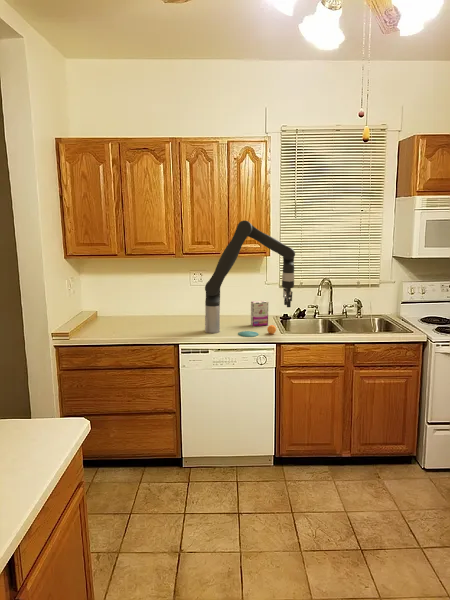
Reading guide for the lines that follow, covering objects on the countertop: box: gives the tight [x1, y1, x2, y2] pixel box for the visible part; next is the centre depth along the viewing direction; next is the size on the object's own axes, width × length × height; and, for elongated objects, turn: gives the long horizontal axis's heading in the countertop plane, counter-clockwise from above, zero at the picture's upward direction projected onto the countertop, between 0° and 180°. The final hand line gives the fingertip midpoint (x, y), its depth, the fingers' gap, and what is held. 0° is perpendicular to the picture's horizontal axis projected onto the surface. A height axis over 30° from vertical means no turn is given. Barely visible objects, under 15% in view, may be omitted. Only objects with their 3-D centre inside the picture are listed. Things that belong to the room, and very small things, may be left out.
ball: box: [266, 324, 277, 335], centre depth 284 cm, size 6×6×6 cm
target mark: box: [237, 330, 260, 338], centre depth 283 cm, size 13×13×1 cm
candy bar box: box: [250, 300, 269, 327], centre depth 304 cm, size 11×5×16 cm, turn 105°
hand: (287, 306), depth 282 cm, fingers open, 6 cm apart
